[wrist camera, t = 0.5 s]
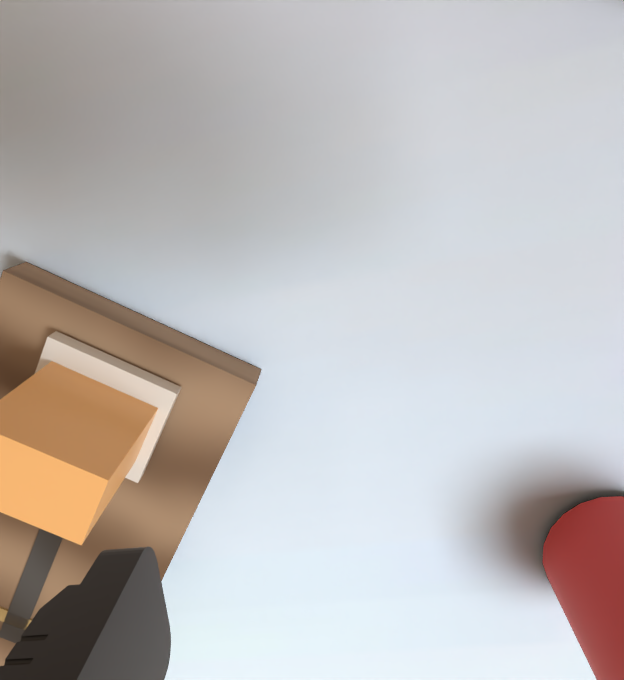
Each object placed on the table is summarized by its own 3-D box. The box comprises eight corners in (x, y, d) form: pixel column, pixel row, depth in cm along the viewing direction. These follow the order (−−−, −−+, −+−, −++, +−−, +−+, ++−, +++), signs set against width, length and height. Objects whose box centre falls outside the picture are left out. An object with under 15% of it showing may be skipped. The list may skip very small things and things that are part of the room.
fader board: (26, 262, 28) (1, 271, 26) (261, 369, 29) (255, 386, 27) (-84, 603, 34) (-110, 632, 32) (111, 679, 35) (98, 711, 33)
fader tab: (56, 330, 26) (-37, 391, 20) (181, 386, 27) (131, 463, 20) (23, 422, 28) (-72, 507, 21) (143, 474, 28) (85, 571, 22)
